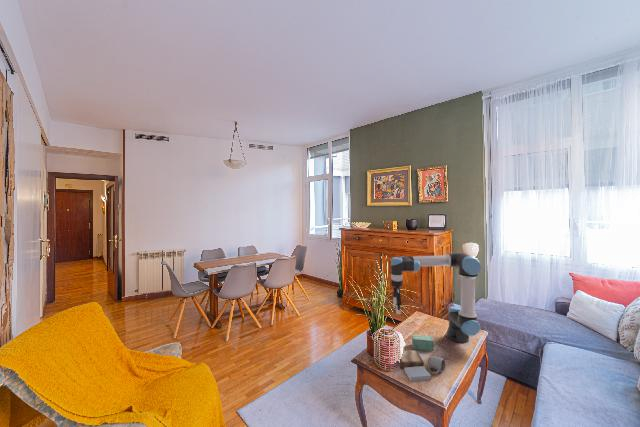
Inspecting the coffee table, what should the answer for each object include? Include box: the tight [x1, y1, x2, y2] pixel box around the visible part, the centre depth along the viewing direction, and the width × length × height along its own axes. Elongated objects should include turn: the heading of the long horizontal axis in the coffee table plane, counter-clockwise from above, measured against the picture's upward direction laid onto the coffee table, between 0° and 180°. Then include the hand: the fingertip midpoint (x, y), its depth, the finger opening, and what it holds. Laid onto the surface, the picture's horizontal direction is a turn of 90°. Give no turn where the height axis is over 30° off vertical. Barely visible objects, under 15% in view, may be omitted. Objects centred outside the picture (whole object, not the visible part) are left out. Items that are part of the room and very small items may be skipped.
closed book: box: [403, 365, 432, 382], centre depth 158 cm, size 12×9×2 cm
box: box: [411, 334, 435, 352], centre depth 188 cm, size 7×14×8 cm, turn 79°
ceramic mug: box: [427, 355, 446, 375], centre depth 163 cm, size 11×8×8 cm
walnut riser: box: [399, 349, 425, 370], centre depth 171 cm, size 14×14×4 cm
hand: (397, 310), depth 187 cm, fingers open, 13 cm apart
